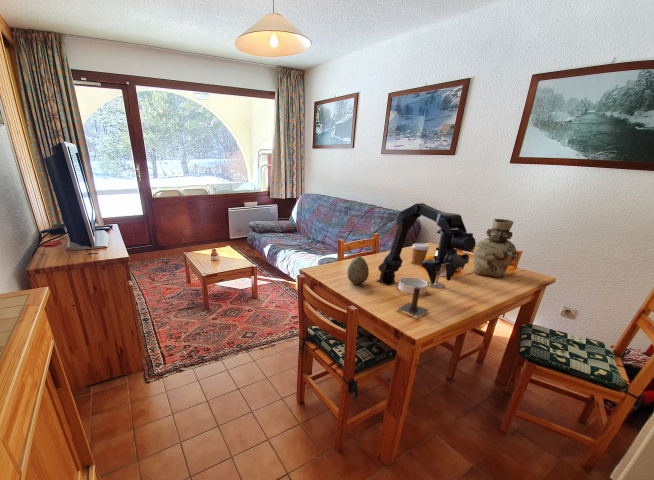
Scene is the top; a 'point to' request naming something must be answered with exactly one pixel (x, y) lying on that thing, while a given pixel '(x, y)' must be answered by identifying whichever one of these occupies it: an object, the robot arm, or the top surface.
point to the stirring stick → (415, 299)
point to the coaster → (416, 313)
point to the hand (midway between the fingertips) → (440, 282)
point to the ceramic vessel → (495, 250)
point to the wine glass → (442, 269)
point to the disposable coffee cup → (419, 253)
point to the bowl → (412, 285)
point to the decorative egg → (358, 271)
